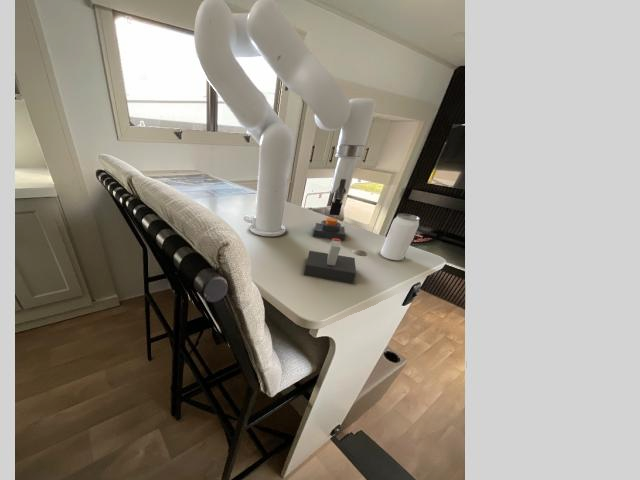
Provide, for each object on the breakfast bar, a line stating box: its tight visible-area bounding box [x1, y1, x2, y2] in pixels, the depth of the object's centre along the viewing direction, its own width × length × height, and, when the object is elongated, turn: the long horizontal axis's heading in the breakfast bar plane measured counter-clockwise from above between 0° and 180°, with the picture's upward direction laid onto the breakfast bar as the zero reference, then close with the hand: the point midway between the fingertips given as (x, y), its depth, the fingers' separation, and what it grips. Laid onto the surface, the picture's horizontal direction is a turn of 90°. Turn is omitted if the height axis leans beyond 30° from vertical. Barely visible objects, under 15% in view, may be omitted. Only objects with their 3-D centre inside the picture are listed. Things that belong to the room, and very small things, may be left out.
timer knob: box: [327, 238, 341, 266], centre depth 64 cm, size 5×2×5 cm, turn 162°
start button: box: [325, 217, 338, 226], centre depth 86 cm, size 4×4×2 cm
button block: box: [312, 219, 346, 242], centre depth 88 cm, size 10×8×4 cm
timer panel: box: [303, 250, 357, 285], centre depth 66 cm, size 12×9×3 cm
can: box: [380, 213, 421, 262], centre depth 72 cm, size 6×6×12 cm
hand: (334, 214), depth 85 cm, fingers closed
